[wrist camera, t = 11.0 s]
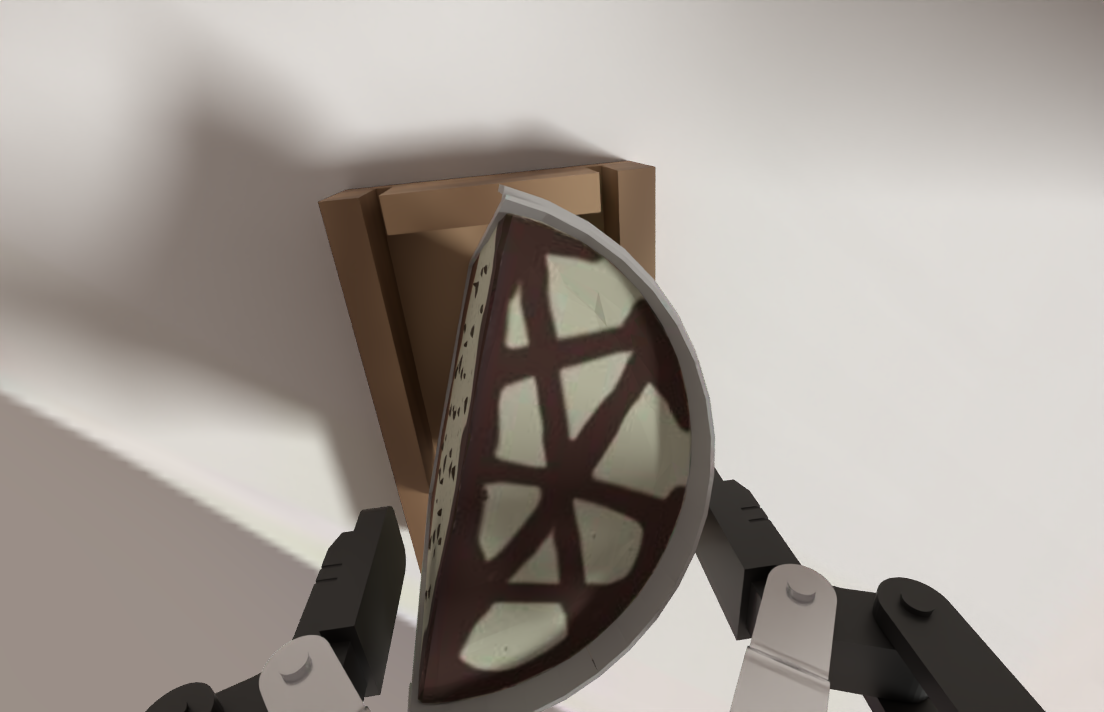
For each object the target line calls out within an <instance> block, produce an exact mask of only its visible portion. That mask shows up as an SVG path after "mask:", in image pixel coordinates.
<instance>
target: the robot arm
mask: <svg viewBox="0 0 1104 712" xmlns="http://www.w3.org/2000/svg"><path fill="white" fill-rule="evenodd" d="M695 553H696V555H697V557H698V559H699V561H700V563H701V565H702V568H703V570H704V572H705V574H706V576H707V578H708V580H709V583H710V585H711V587H712V589H713V591H714V593H715V595H716V597H717V600H718V602H719V604H720V606H721V608H722V610H723V612H724V615H725V617H726V619H727V621H728V623H729V625H730V627H731V629H732V632H733V634H734V636H735V638H736V640H742V639H749V638H752V639H751V643H750V646H748V647H747V649H746V652H745V656H744V660H743V663H742V667H741V671H740V675H739V678H738V682H737V686H736V690H735V693H734V697H733V701H732V705H731V709H730V712H827V710H828V700H829V691H830V689H833V690H839V691H844V692H850V693H855V694H861V695H863V696H864V698H865V700H866V702H867V703H868V705H869V707H870V708H871V710H872V712H1045V711H1044V710H1043V708H1042V707H1041V706H1040V705H1039V704H1038V703H1037V702H1036V700H1035V699H1034V698H1033V697H1032V696H1031V695H1030V694H1029V692H1028V691H1027V690H1026V689H1025V688H1024V687H1023V686H1022V684H1021V683H1020V682H1019V681H1018V680H1017V679H1016V678H1015V676H1014V675H1013V674H1012V673H1011V672H1010V671H1009V670H1008V668H1007V667H1006V666H1005V665H1004V664H1003V663H1002V662H1001V661H1000V659H999V658H998V657H997V656H996V655H995V654H994V653H993V651H992V650H991V649H990V648H989V647H988V646H987V645H986V643H985V642H984V641H983V640H982V639H981V638H980V637H979V635H978V634H977V633H976V632H975V631H974V630H973V629H972V627H971V626H970V625H969V624H968V623H967V622H966V621H965V619H964V618H963V617H962V616H961V615H960V614H959V613H958V611H957V610H956V609H955V608H954V607H953V606H952V605H951V603H950V602H949V601H948V600H947V599H946V598H945V597H944V596H943V595H941V594H940V593H939V592H937V591H936V590H934V589H933V588H931V587H929V586H928V585H926V584H923V583H921V582H919V581H916V580H912V579H908V578H901V577H896V578H889V579H886V580H884V581H883V582H881V584H880V585H879V586H878V589H877V593H873V592H865V591H858V590H850V589H844V588H839V587H835V586H832V585H831V584H830V582H829V581H828V580H827V579H826V578H825V577H823V576H822V575H821V574H819V573H818V572H816V571H814V570H813V569H811V568H808V567H805V566H802V565H801V564H800V563H799V561H798V560H797V558H796V557H795V555H794V554H793V553H792V551H791V550H790V548H789V547H788V545H787V544H786V542H785V541H784V540H783V538H782V537H781V535H780V534H779V532H778V531H777V530H776V528H775V527H774V525H773V524H772V522H771V521H770V520H768V517H767V515H766V514H765V512H764V511H763V509H762V508H760V505H759V504H758V502H757V501H756V499H755V498H754V497H753V495H752V494H751V492H750V491H749V490H748V489H746V488H745V487H743V486H742V485H741V484H739V483H738V482H736V481H735V480H727V481H723V480H722V478H721V477H720V475H719V474H718V472H717V470H716V469H715V467H714V479H713V485H712V491H711V497H710V503H709V509H708V514H707V518H706V521H705V524H704V527H703V530H702V533H701V536H700V539H699V542H698V545H697V549H696V552H695ZM405 568H406V555H405V548H404V544H403V541H402V537H401V534H400V530H399V527H398V523H397V520H396V516H395V513H394V510H393V508H392V507H391V506H388V507H380V508H373V509H365V510H362V511H361V512H360V515H359V517H358V520H357V523H356V526H355V529H354V531H350V532H343V533H342V534H341V535H340V536H339V537H338V538H337V539H336V541H335V542H334V543H333V544H332V545H331V546H330V547H329V549H328V551H327V553H326V556H325V559H324V561H323V564H322V569H321V570H320V571H319V574H318V576H317V579H316V584H314V586H313V589H312V591H311V594H310V597H309V599H308V602H307V604H306V607H305V609H304V612H303V614H302V617H301V619H300V622H299V624H298V627H297V630H296V632H295V635H294V637H293V639H292V641H290V642H288V643H287V644H285V645H284V646H282V647H281V648H280V649H278V651H276V652H275V653H274V654H273V655H272V656H271V658H270V659H269V660H268V661H267V663H266V664H265V666H264V668H263V670H262V672H261V673H259V674H258V675H256V676H254V677H252V678H250V679H247V680H245V681H243V682H240V683H238V684H236V685H234V686H231V687H229V688H227V689H225V690H222V691H220V692H218V693H214V692H213V690H212V689H211V687H210V686H208V685H207V684H205V683H198V682H195V683H189V684H186V685H183V686H180V687H178V688H176V689H174V690H172V691H170V692H169V693H167V694H165V695H164V696H162V697H161V698H160V699H158V700H157V701H156V702H155V703H154V704H153V705H151V706H150V707H149V708H148V710H147V711H146V712H371V710H370V709H369V708H368V707H367V706H366V707H365V705H364V703H363V701H364V697H369V696H375V695H380V693H381V688H382V684H383V679H384V674H385V669H386V663H387V659H388V653H389V649H390V644H391V639H392V634H393V629H394V624H395V619H396V614H397V610H398V605H399V600H400V595H401V590H402V585H403V580H404V575H405Z"/></svg>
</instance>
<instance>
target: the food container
mask: <svg viewBox="0 0 1104 712" xmlns="http://www.w3.org/2000/svg"><path fill="white" fill-rule="evenodd" d="M498 192H500V193H501V194H502V199H501V202H500V204H499V206H498V208H497V210H496V211H495V213H494V215H493V217H492V219H491V221H490V223H489V225H488V227H487V229H486V231H485V232H484V234H483V236H482V238H481V240H480V242H479V244H478V246H477V248H476V250H475V251H474V253H473V255H472V257H471V259H470V261H469V266H468V272H467V278H466V283H465V289H464V295H463V301H462V306H461V312H460V318H459V323H458V329H457V335H456V340H455V346H454V352H453V358H452V363H451V369H450V375H449V380H448V386H447V392H446V398H445V403H444V409H443V415H442V420H441V426H440V432H439V438H438V443H437V449H436V455H435V460H434V466H433V472H432V478H431V483H430V489H429V495H428V505H427V517H426V528H425V539H424V550H423V562H422V573H421V584H420V595H419V606H418V618H417V629H416V640H415V651H414V663H413V674H412V683H410V686H409V697H408V712H542V711H544V710H546V709H548V708H550V707H552V706H554V705H556V704H558V703H560V702H562V701H564V700H566V699H567V698H569V697H570V696H572V695H573V694H575V693H576V692H578V691H579V690H581V689H582V688H584V687H585V686H586V685H588V684H589V683H591V682H592V681H594V680H595V679H597V678H598V677H600V676H601V675H602V674H603V673H604V672H605V671H607V670H608V669H609V668H610V667H611V666H612V665H613V664H614V663H616V662H617V661H618V660H619V659H620V658H621V657H622V656H624V655H625V654H626V653H627V652H628V651H629V650H630V649H631V648H632V647H633V646H634V645H635V644H636V642H637V641H638V640H639V639H640V638H641V637H642V636H643V634H644V633H645V632H646V631H647V630H648V629H649V628H650V626H651V625H652V624H653V623H654V622H655V621H656V620H657V618H658V617H659V615H660V614H661V612H662V611H663V609H664V608H665V606H666V605H667V603H668V602H669V600H670V599H671V597H672V596H673V594H674V593H675V591H676V590H677V588H678V587H679V585H680V582H681V580H682V578H683V576H684V574H685V572H686V570H687V568H688V566H689V564H690V562H691V560H692V558H693V556H694V554H695V552H696V549H697V545H698V542H699V539H700V536H701V533H702V530H703V527H704V524H705V521H706V518H707V514H708V509H709V503H710V497H711V491H712V485H713V479H714V456H715V434H714V426H713V419H712V411H711V404H710V397H709V394H708V391H707V387H706V384H705V380H704V377H703V374H702V370H701V367H700V364H699V360H698V358H697V354H696V351H695V349H694V347H693V345H692V342H691V340H690V338H689V336H688V334H687V332H686V330H685V328H684V326H683V323H682V321H681V319H680V317H679V315H678V313H677V312H676V310H675V309H674V308H673V306H672V305H671V303H670V302H669V300H668V299H667V297H666V296H665V294H664V293H663V292H662V290H661V289H660V287H659V286H658V284H657V283H656V281H655V280H654V279H653V278H652V277H651V276H650V275H649V274H648V273H647V272H646V271H645V270H644V268H643V267H642V266H641V265H640V264H639V263H638V262H637V261H636V260H635V259H634V258H633V257H632V256H631V255H630V254H629V253H628V252H627V251H626V250H625V249H624V248H623V247H622V246H620V245H619V244H618V243H616V242H615V241H614V240H612V239H611V238H610V237H608V236H607V235H606V234H604V233H603V232H602V231H600V230H599V229H598V228H596V227H595V226H594V225H592V224H591V223H590V222H588V221H586V220H584V219H582V218H580V217H578V216H576V215H575V214H573V213H571V212H569V211H567V210H565V209H563V208H561V207H559V206H557V205H556V204H554V203H552V202H550V201H548V200H545V199H543V198H540V197H537V196H534V195H531V194H528V193H525V192H522V191H519V190H516V189H513V188H510V187H507V186H504V185H501V184H499V189H498Z"/></svg>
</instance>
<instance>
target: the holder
mask: <svg viewBox="0 0 1104 712" xmlns="http://www.w3.org/2000/svg"><path fill="white" fill-rule="evenodd" d="M499 184H501V185H504V186H507V187H510V188H513V189H516V190H519V191H522V192H525V193H528V194H531V195H534V196H537V197H540V198H543V199H545V200H548V201H550V202H552V203H554V204H556V205H557V206H559V207H561V208H563V209H565V210H567V211H569V212H571V213H573V214H575V215H576V216H578V217H580V218H582V219H584V220H586V221H588V222H590V223H591V224H592V225H594V226H595V227H596V228H598V229H599V230H600V231H602V232H603V233H604V234H606V235H607V236H608V237H610V238H611V239H612V240H614V241H615V242H616V243H618V244H619V245H620V246H622V247H623V248H624V249H625V250H626V251H627V252H628V253H629V254H630V255H631V256H632V257H633V258H634V259H635V260H636V261H637V262H638V263H639V264H640V265H641V266H642V267H643V268H644V270H645V271H646V272H647V273H648V274H649V275H650V276H651V277H652V278H653V279H654V280H655V167H654V166H649V165H645V164H641V163H636V162H632V161H621V162H611V163H602V164H592V165H582V166H572V167H563V168H553V169H543V170H533V171H524V172H514V173H504V174H495V175H485V176H475V177H465V178H456V179H446V180H436V181H426V182H417V183H407V184H397V185H387V186H378V187H368V188H358V189H349V190H344V191H342V192H340V193H338V194H335V195H333V196H331V197H328V198H326V199H324V200H321V201H319V202H318V204H319V207H320V211H321V214H322V218H323V222H324V225H325V229H326V233H327V236H328V240H329V243H330V247H331V251H332V254H333V258H334V262H335V265H336V269H337V272H338V276H339V280H340V283H341V287H342V290H343V294H344V298H345V301H346V305H347V309H348V312H349V316H350V319H351V323H352V327H353V330H354V334H355V337H356V341H357V345H358V348H359V352H360V356H361V359H362V363H363V366H364V370H365V374H366V377H367V381H368V385H369V388H370V392H371V395H372V399H373V403H374V406H375V410H376V413H377V417H378V421H379V424H380V428H381V432H382V435H383V439H384V442H385V446H386V450H387V453H388V457H389V460H390V464H391V468H392V471H393V475H394V479H395V482H396V486H397V489H398V493H399V497H400V500H401V504H402V508H403V511H404V515H405V518H406V522H407V526H408V529H409V533H410V536H411V540H412V544H413V547H414V551H415V555H416V558H417V562H418V565H419V569H420V573H422V562H423V550H424V539H425V528H426V517H427V505H428V495H429V489H430V483H431V478H432V472H433V466H434V460H435V455H436V449H437V443H438V438H439V432H440V426H441V420H442V415H443V409H444V403H445V398H446V392H447V386H448V380H449V375H450V369H451V363H452V358H453V352H454V346H455V340H456V335H457V329H458V323H459V318H460V312H461V306H462V301H463V295H464V289H465V283H466V278H467V272H468V266H469V261H470V259H471V257H472V255H473V253H474V251H475V250H476V248H477V246H478V244H479V242H480V240H481V238H482V236H483V234H484V232H485V231H486V229H487V227H488V225H489V223H490V221H491V219H492V217H493V215H494V213H495V211H496V210H497V208H498V206H499V204H500V202H501V199H502V194H501V193H500V192H498V189H499Z"/></svg>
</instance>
